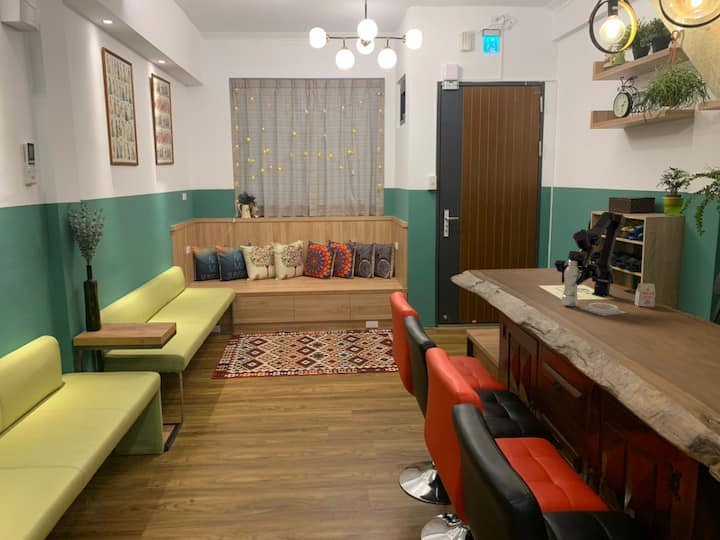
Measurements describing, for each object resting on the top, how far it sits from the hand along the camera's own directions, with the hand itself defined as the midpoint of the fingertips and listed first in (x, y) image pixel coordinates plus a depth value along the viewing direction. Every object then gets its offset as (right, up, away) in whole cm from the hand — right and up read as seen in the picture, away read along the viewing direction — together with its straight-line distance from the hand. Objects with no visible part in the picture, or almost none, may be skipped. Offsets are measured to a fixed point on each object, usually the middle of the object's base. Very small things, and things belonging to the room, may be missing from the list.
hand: (569, 283), depth 246 cm
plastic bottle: (+1, -10, +3) cm, 10 cm away
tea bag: (+35, -10, +5) cm, 36 cm away
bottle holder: (+12, -11, -5) cm, 17 cm away
